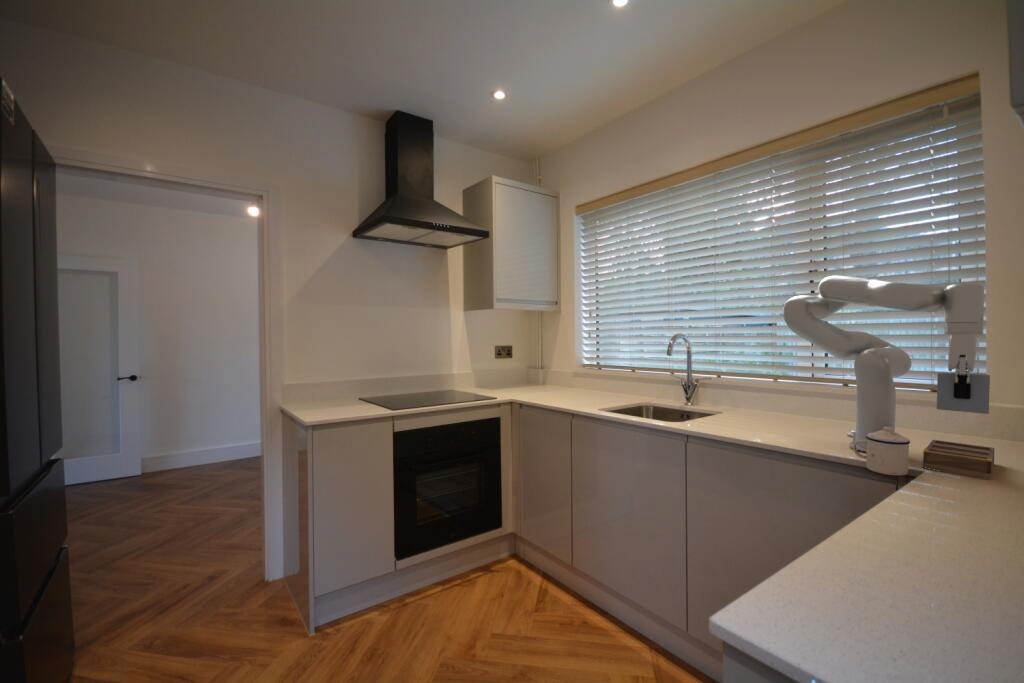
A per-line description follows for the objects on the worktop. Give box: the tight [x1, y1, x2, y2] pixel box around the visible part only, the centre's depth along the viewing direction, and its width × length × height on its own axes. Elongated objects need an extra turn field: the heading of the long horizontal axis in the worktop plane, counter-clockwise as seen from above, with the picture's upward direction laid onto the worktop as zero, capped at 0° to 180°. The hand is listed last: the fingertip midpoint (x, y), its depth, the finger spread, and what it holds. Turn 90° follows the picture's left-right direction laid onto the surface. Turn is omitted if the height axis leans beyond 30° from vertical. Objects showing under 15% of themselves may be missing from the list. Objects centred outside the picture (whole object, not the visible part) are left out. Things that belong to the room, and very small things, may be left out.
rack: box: [922, 439, 996, 481], centre depth 127 cm, size 20×13×5 cm, turn 132°
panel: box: [936, 372, 991, 415], centre depth 125 cm, size 2×10×10 cm, turn 46°
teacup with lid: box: [852, 427, 911, 477], centre depth 124 cm, size 12×9×12 cm
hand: (962, 397), depth 125 cm, fingers closed on panel, 2 cm apart
